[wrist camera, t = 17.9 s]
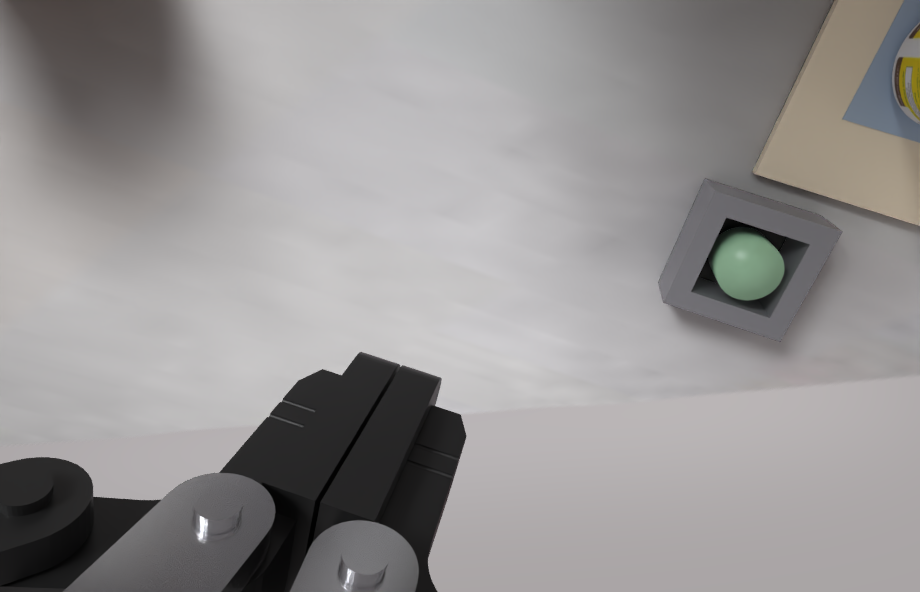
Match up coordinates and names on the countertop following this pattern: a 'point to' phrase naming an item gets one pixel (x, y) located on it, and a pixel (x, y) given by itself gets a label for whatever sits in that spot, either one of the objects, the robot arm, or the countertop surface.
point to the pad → (851, 114)
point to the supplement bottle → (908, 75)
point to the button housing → (800, 252)
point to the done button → (746, 263)
